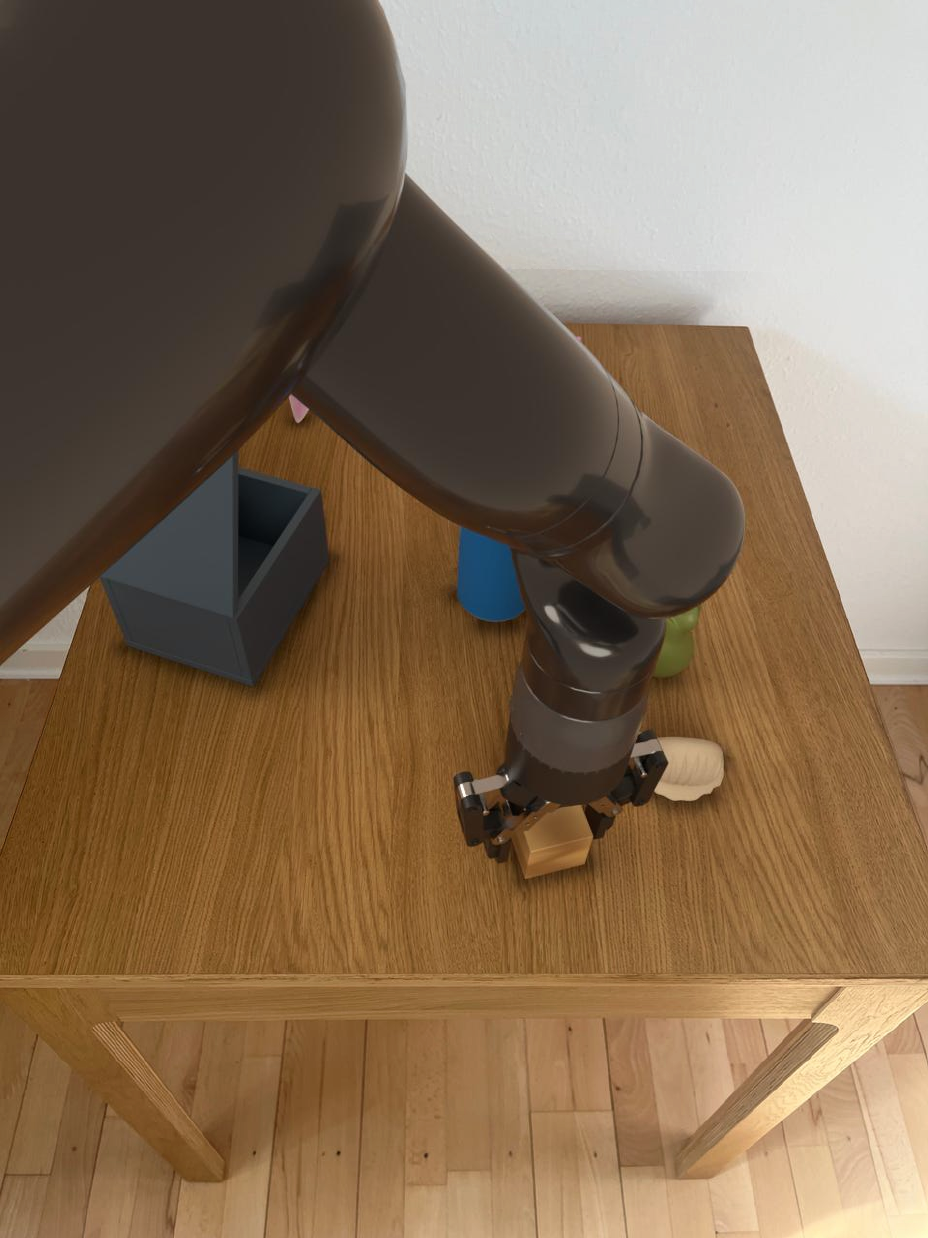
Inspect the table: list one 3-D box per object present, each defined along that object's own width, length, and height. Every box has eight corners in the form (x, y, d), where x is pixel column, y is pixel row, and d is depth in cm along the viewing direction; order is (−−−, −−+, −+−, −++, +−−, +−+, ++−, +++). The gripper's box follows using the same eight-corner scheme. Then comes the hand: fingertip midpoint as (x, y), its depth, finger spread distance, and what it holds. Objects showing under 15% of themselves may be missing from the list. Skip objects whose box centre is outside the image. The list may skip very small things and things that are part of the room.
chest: (213, 527, 86) (195, 454, 79) (329, 561, 84) (321, 489, 77) (126, 646, 78) (98, 575, 71) (253, 687, 76) (236, 619, 69)
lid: (81, 371, 62) (73, 374, 62) (239, 413, 60) (232, 417, 59) (99, 569, 71) (93, 574, 70) (238, 612, 69) (232, 618, 68)
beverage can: (462, 566, 84) (467, 465, 75) (533, 575, 84) (547, 475, 75) (451, 621, 80) (455, 523, 71) (527, 631, 80) (540, 533, 71)
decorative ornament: (723, 806, 70) (743, 770, 66) (612, 793, 71) (624, 757, 66) (720, 759, 73) (739, 722, 69) (612, 746, 73) (624, 709, 69)
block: (524, 879, 66) (530, 852, 63) (506, 823, 69) (510, 793, 65) (584, 864, 67) (593, 836, 64) (564, 809, 70) (571, 779, 66)
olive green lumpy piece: (620, 635, 80) (641, 555, 72) (682, 638, 80) (710, 559, 72) (625, 689, 77) (648, 612, 69) (690, 692, 77) (720, 616, 69)
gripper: (473, 797, 51) (463, 913, 64) (716, 740, 54) (659, 863, 67) (438, 685, 55) (436, 815, 68) (664, 638, 58) (620, 772, 71)
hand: (546, 838), depth 67 cm, fingers open, 6 cm apart
